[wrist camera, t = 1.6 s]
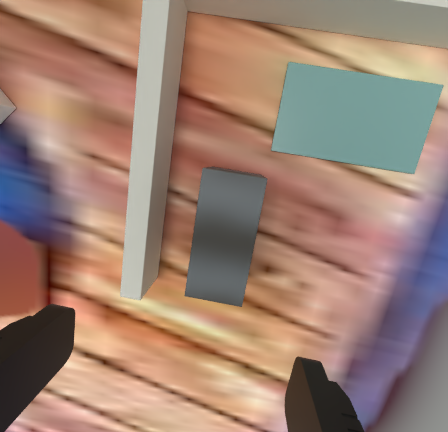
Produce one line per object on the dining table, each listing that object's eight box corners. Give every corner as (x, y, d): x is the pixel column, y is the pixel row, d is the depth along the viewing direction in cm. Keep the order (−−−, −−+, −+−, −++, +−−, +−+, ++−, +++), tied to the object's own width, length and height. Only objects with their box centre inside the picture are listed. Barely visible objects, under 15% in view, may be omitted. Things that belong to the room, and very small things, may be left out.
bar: (213, 166, 26) (202, 167, 19) (261, 174, 25) (267, 178, 19) (198, 263, 28) (184, 296, 21) (242, 271, 28) (241, 306, 21)
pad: (288, 63, 23) (288, 61, 23) (440, 86, 22) (443, 85, 22) (270, 150, 25) (271, 150, 24) (412, 173, 24) (414, 173, 24)
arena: (168, -17, 22) (148, -68, 17) (508, 30, 21) (588, -10, 16) (141, 273, 29) (120, 296, 24) (401, 322, 27) (435, 357, 23)
